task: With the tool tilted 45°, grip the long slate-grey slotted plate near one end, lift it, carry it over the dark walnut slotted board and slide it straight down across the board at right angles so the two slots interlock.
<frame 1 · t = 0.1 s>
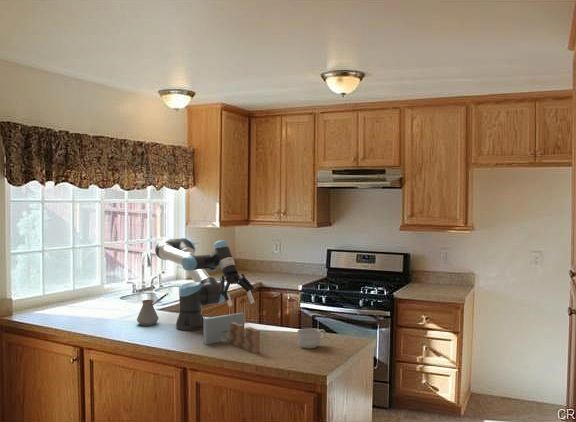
hand: (241, 304, 279), 15 cm above the countertop, tool tilted 35°, fingers open, 13 cm apart
teacup: (312, 347, 258), on the countertop
coffee pot: (154, 322, 304), on the countertop
slate plate: (224, 340, 268), on the countertop
walnut board: (244, 347, 255), on the countertop
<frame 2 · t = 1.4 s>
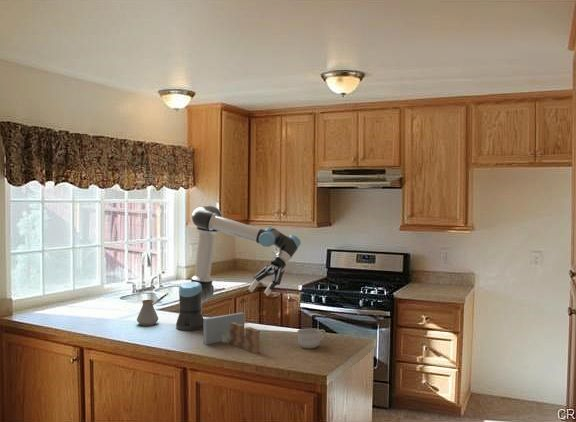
hand: (257, 292, 280), 21 cm above the countertop, tool tilted 45°, fingers open, 13 cm apart
nothing on the countertop moved.
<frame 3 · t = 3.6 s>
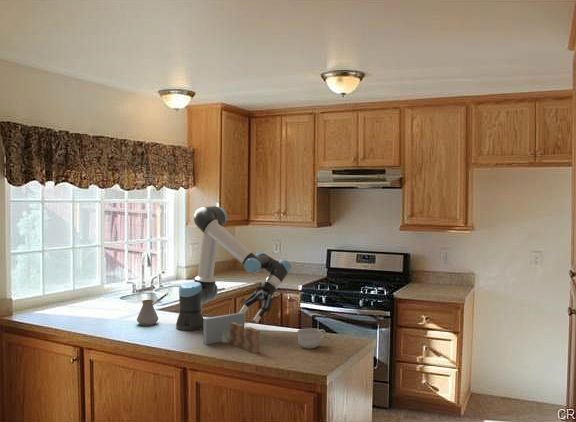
hand: (246, 318, 275), 9 cm above the countertop, tool tilted 45°, fingers open, 13 cm apart
nothing on the countertop moved.
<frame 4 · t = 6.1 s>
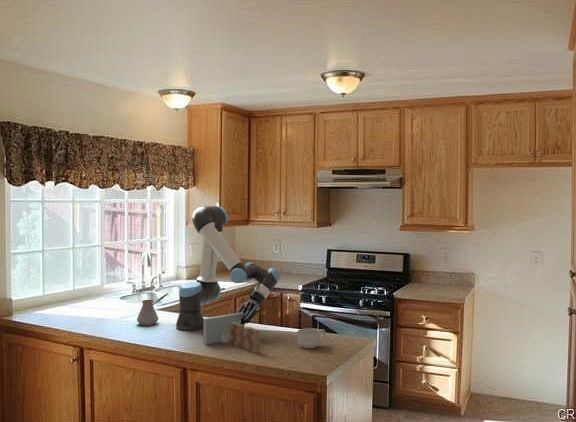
hand: (232, 331, 271), 3 cm above the countertop, tool tilted 45°, fingers closed on slate plate, 2 cm apart
slate plate: (224, 340, 268), on the countertop, touching gripper
everything else where it was.
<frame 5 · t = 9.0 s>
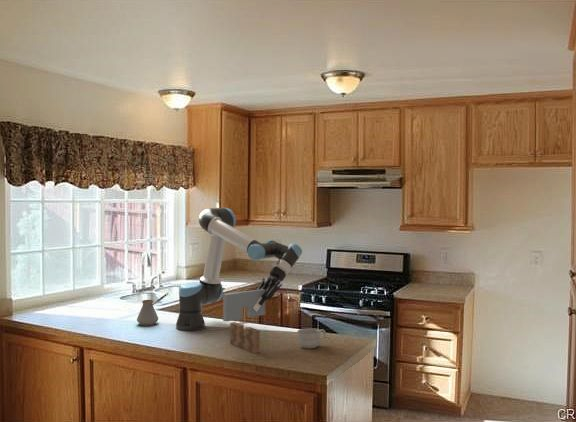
hand: (252, 309, 257), 17 cm above the countertop, tool tilted 45°, fingers closed on slate plate, 2 cm apart
slate plate: (244, 317, 255), point 14 cm above the countertop, touching gripper
everything else where it was.
when the fingers open (4 cm above the countertop, at t = 12.3 s): slate plate drops 1 cm, on the countertop.
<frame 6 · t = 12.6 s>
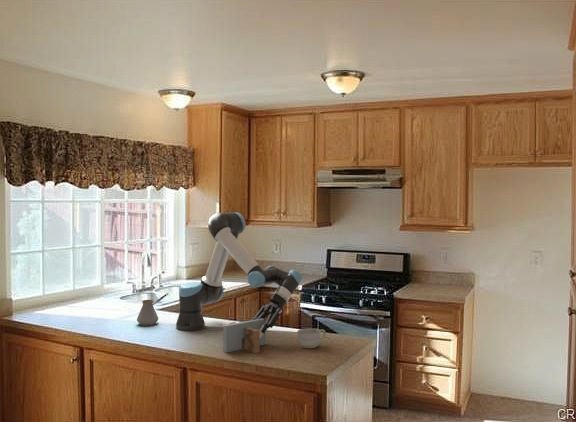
hand: (252, 336, 258), 5 cm above the countertop, tool tilted 45°, fingers open, 6 cm apart
slate plate: (244, 347, 255), on the countertop
everything else where it was.
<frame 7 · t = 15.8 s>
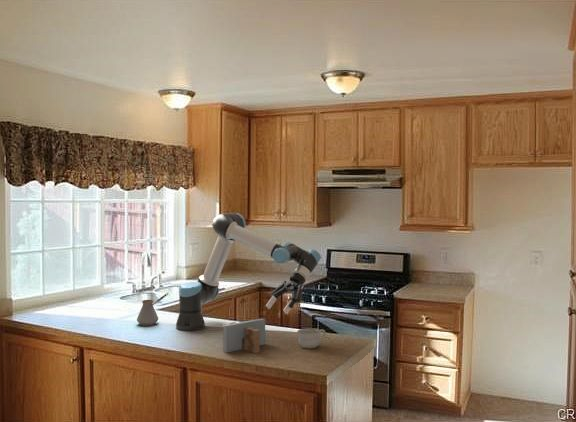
hand: (275, 309, 266), 15 cm above the countertop, tool tilted 45°, fingers open, 13 cm apart
nothing on the countertop moved.
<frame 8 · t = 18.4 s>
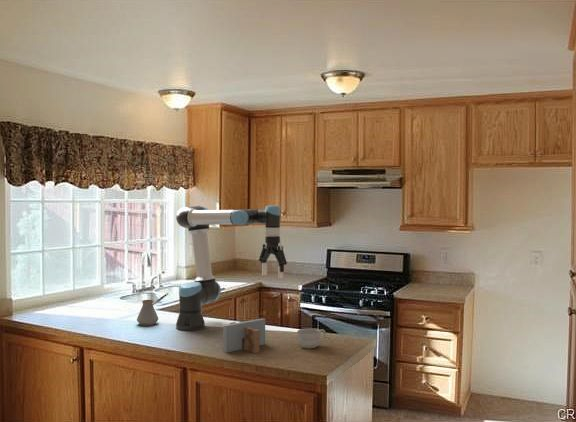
hand: (272, 276, 283), 29 cm above the countertop, tool pointing down, fingers open, 13 cm apart
nothing on the countertop moved.
at the end: slate plate 0.1 cm off-centre on the walnut board, point 0.0 cm above the walnut board's base; slate plate tilted 0°; the gripper is holding nothing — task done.
